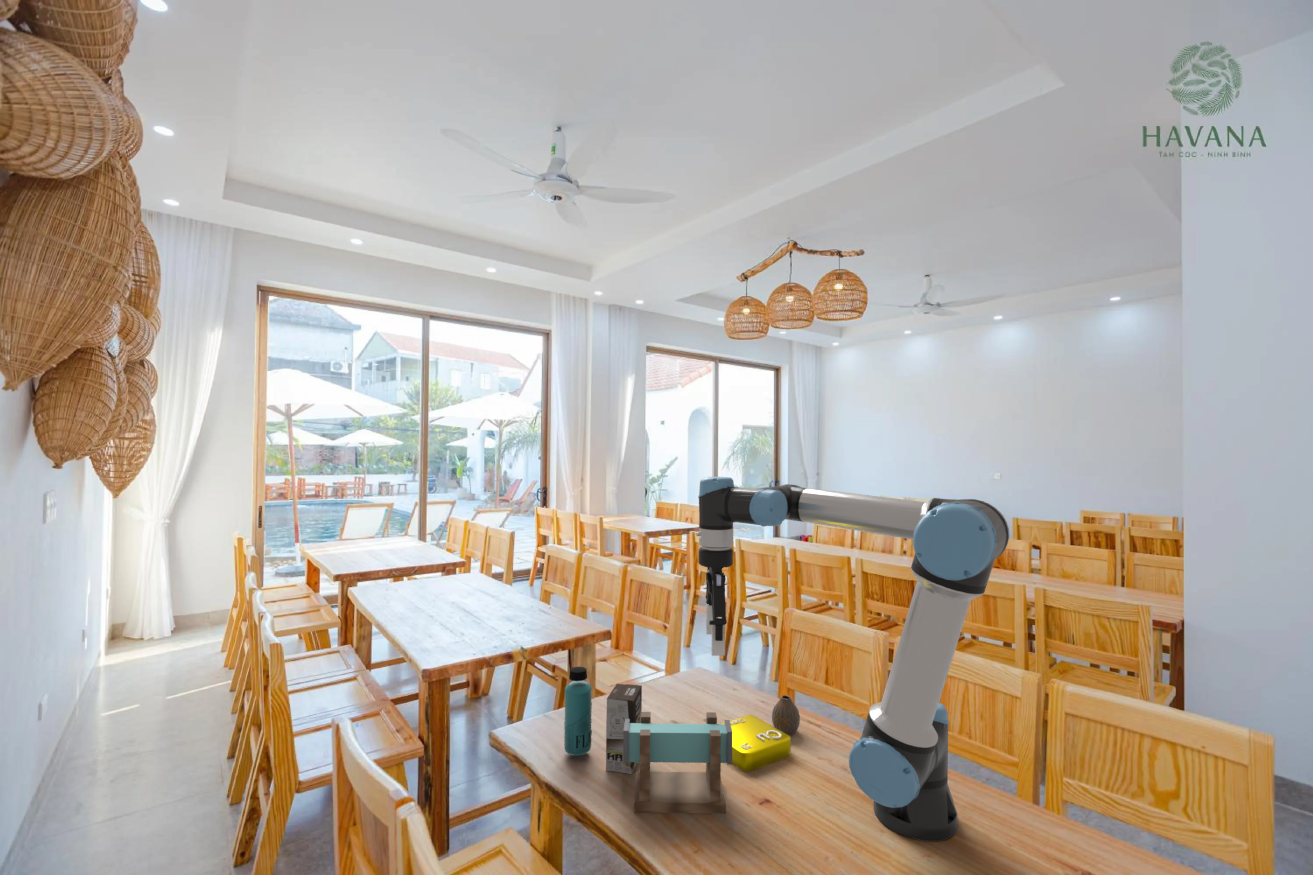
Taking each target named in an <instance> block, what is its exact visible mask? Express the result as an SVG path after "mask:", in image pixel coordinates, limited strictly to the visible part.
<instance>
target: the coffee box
mask: <svg viewBox="0 0 1313 875" xmlns="http://www.w3.org/2000/svg"><path fill="white" fill-rule="evenodd" d="M642 688H643V685H639V684H627V683H626V684H624V683H622V684H621V683H616V684H615V686H614V687H613V688H612V690H611V692H610V693H609V695H608V696H607V698H606V726H605V727H606V730H605V734H606V735H605V741H606V743H605V771H607V772H614V773H622V774H629V775H632V774H633V773H634V770H635V768H636V766H637V764H638V762H628V764H623V733H624V723H625V719H630V723H641V712H643V711H642V705H643V703H642V702H643V700H642V698H643V690H642Z"/></svg>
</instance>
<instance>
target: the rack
mask: <svg viewBox="0 0 1313 875" xmlns="http://www.w3.org/2000/svg"><path fill="white" fill-rule="evenodd" d="M651 715H652V714H651V711H642V712H641V723H652V721H651V720H652V719H651V718H652V716H651ZM717 716H718V715H717V712H711V711H710V712H706V716H705V717H706V718H705V720H706V721H705V722H706V723H705V724H718V717H717ZM721 764H722V763H721V734H720V730H710V758H709V763H705V771H699V772H698V771H651V762H650V730H642V729H640V762H639V771H635V772H636V773H635V785H634V798H633V799H634V802H633V806H634V807H633V813H645V814H646V813H648V814H649V813H654V814H655V813H656V814H659V813H661V814H664V813H665V814H668V813H669V814H670V813H671V814H672V813H673V814H726V811H727V810H726V807H727V806H726V798H725V797H726V796H725V793H724V792H725V791H724V788H723V781H722V775H721V773H722V771H721V770H722V768H721V767H722V766H721Z"/></svg>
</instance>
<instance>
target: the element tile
mask: <svg viewBox="0 0 1313 875" xmlns="http://www.w3.org/2000/svg"><path fill="white" fill-rule="evenodd" d="M720 724H725V722H722V723H720ZM730 724H731V728H732V765H734V766H735V767H736V768H738V769H740V770H741V771H744V772H752V771H755V770H757V769H761V768H763V767H766V766H768V765H770V764H774V763H775V762H777V761H781V760H784V759H786V758H789V757H790V756H791V754H792V753H791V750H792V747H791V746H792V745H791V742H792V741H791V740H792V738H791V735H787V734H785V733H784V732H782V731H780V730H779V729H777V728H775V727H774V726H773V724H770V723H768V722H766V721H765V720H763V719H761V718H759V717H758V716H756V715H753V714H748V715H747V714H746V715H744V716H741V717H738V718H735V719H731V720H730Z"/></svg>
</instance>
